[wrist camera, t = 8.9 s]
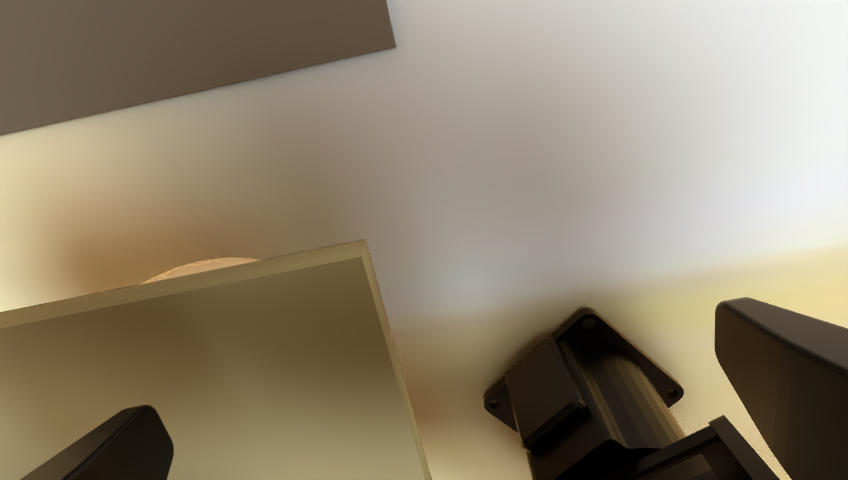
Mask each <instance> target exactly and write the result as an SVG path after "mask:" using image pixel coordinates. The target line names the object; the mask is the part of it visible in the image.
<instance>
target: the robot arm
mask: <svg viewBox="0 0 848 480" xmlns="http://www.w3.org/2000/svg"><path fill="white" fill-rule="evenodd" d="M587 319H592V320H591V322H590V323H588V324H583V322H584V321H585V320H587ZM715 353H716V356H717V359H718V362H719V364H720V365H721V367H722V369H723V370H724V372H725V374H726V376H727V377H728V379H729V381H730V382H731V384H732V386H733V387H734V389H735V391H736V393H737V394H738V396H739V398H740V399H741V401H742V403H743V405H744V406H745V408H746V410H747V411H748V413H749V415H750V416H751V418H752V420H753V422H754V423H755V425H756V427H757V428H758V430H759V432H760V433H761V435H762V437H763V438H764V440H765V442H766V443H767V445H768V446H769V448H770V450H771V451H772V453H773V454H774V456H775V457H776V458H777V460H778V461H779V463H780V464H781V466H782V467H783V468H784V470H785V471H786V472H787V474H788V475H789V477H790V478H791V479H792V480H848V329H847V328H844V327H841V326H838V325H835V324H831V323H828V322H825V321H822V320H819V319H815V318H812V317H809V316H806V315H803V314H800V313H796V312H793V311H790V310H787V309H784V308H780V307H777V306H774V305H771V304H768V303H764V302H761V301H758V300H755V299H752V298H746V297H744V298H738V299H733V300H727V301H722V302H720V303H719V304H718V305H717V307H716V311H715ZM672 389H673V390H672ZM670 390H672V391H671V392H668V391H670ZM667 392H668V393H667ZM683 394H684V390H683V388H682V387H681V386H680V384H679V383H678V381H677V380H675V379H674V378H673V377H672V376H671V375H670V374H668V373H667V372H666V371H665V370H664V369H662V368H661V367H660V366H659V365H658V364H657V363H655V362H654V361H653V360H652V359H651V358H650V357H648V356H647V355H646V354H645V353H644V352H643V351H641V350H640V349H639V348H638V347H637V346H636V345H634V344H633V343H632V342H631V341H630V340H629V339H627V338H626V337H625V336H624V335H623V334H621V333H620V332H619V331H618V330H617V329H616V328H614V327H613V326H612V325H611V324H610V323H609V322H607V321H606V320H605V319H604V318H603V317H602V316H600V315H599V314H598V313H597V312H596V311H594V310H592V309H582V310H581V311H579V312H578V313H576V314H575V315H574V316H573V317H572V318H571V319H570V320H568V321H567V322H566V323H565V324H564V325H563V326H562V327H560V328H559V329H558V330H557V331H556V332H555V333H554V334H552V335H551V336H550V337H549V338H546V339H544V340H543V341H542V342H541V343H540V344H539V345H538V346H536V347H535V348H534V349H533V350H532V351H531V352H530V353H529V354H527V355H526V356H525V357H524V358H523V359H522V360H521V361H519V362H518V363H517V364H516V365H515V366H514V367H513V368H511V369H510V370H509V371H508V372H507V373H506V376H505V377H503V378H502V379H501V380H500V381H499V382H498V383H497V384H495V385H494V386H493V387H492V388H491V389H490V390H489V391H487V392H486V394H485V395H484V397H483V401H484V406H485V409H486V410H487V411H488V412H489V413H491V414H492V415H494V416H495V417H496V418H498V419H499V420H501V421H502V422H503V423H505V424H506V425H508V426H509V427H510V428H512V429H513V430H515V431H516V432H517V433H518V434H519V438H520V442H521V446H522V447H523V448H524V449H525V452H526V456H527V460H528V464H529V468H530V472H531V476H532V480H780V479H779V478H778V477H777V476H776V475H775V473H774V472H773V471H772V470H771V469H770V468H769V467H768V465H767V464H766V463H765V462H764V461H763V460H762V458H761V457H760V456H759V455H758V454H757V453H756V452H755V450H754V449H753V448H752V447H751V446H750V445H749V443H748V442H747V441H746V440H745V439H744V438H743V437H742V435H741V434H740V433H739V432H738V431H737V430H736V428H735V427H734V426H733V425H732V424H731V423H730V422H729V420H728V419H727V418H726V417H725V416H724V415H723V416H720V417H718V418H716V419H714V420H712V421H710V422H708V423H709V425H710V426H707V427H705V428H703V429H701V430H699V431H697V432H695V433H693V434H691V435H689V436H687V437H686V435H685V434H684V432H683V431H682V429H681V428H680V426H679V424H678V423H677V421H676V420H675V418H674V417H673V415H672V414H671V412H670V410H669V409H668V408H669V407H671V406H672V405H673V404H675V403H676V402H677V401H679V400H680V399H681V398H682V397H683ZM493 400H498V402H496V403H492V402H491V401H493ZM173 456H174V446H173V442H172V439H171V437H170V435H169V433H168V432H167V430H166V428H165V426H164V424H163V422H162V420H161V418H160V416H159V414H158V412H157V411H156V409H155V408H154V407H152V406H150V405H141V406H136V407H130V408H126V409H123V410H121V411H120V412H118V413H117V414H115V415H114V416H112V417H111V418H109V419H108V420H106V421H105V422H103V423H102V424H101V425H99V426H98V427H96V428H95V429H93V430H92V431H90V432H89V433H87V434H86V435H84V436H83V437H81V438H80V439H78V440H77V441H76V442H74V443H73V444H71V445H70V446H68V447H67V448H65V449H64V450H62V451H61V452H59V453H58V454H56V455H55V456H53V457H52V458H51V459H49V460H48V461H46V462H45V463H43V464H42V465H40V466H39V467H37V468H36V469H34V470H33V471H31V472H30V473H28V474H27V475H26V476H24V477H23V478H21V479H20V480H167V478H168V474H169V471H170V467H171V464H172V460H173Z"/></svg>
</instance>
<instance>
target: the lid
mask: <svg viewBox="0 0 848 480" xmlns="http://www.w3.org/2000/svg"><path fill="white" fill-rule="evenodd" d="M141 405H150V406H152V407H154V408H155V409H156V411H157V412H158V414H159V416H160V418H161V420H162V422H163V424H164V426H165V428H166V430H167V432H168V433H169V435H170V437H171V439H172V442H173V446H174V456H173V460H172V464H171V467H170V471H169V474H168V478H167V480H432V479H431V475H430V471H429V468H428V464H427V461H426V457H425V453H424V450H423V446H422V442H421V439H420V435H419V432H418V428H417V424H416V421H415V417H414V413H413V410H412V406H411V403H410V399H409V395H408V392H407V388H406V384H405V381H404V377H403V374H402V370H401V366H400V363H399V359H398V355H397V352H396V348H395V345H394V341H393V337H392V334H391V330H390V326H389V323H388V319H387V316H386V312H385V308H384V305H383V301H382V297H381V294H380V290H379V286H378V283H377V279H376V276H375V272H374V268H373V265H372V261H371V257H370V254H369V250H368V247H367V243H366V239H365V240H360V241H355V242H350V243H345V244H340V245H335V246H330V247H325V248H320V249H315V250H310V251H305V252H300V253H295V254H290V255H285V256H280V257H275V258H270V259H265V260H260V261H255V262H250V263H245V264H240V265H235V266H230V267H225V268H220V269H215V270H210V271H205V272H200V273H195V274H190V275H185V276H180V277H175V278H170V279H165V280H160V281H155V282H150V283H145V284H140V285H135V286H130V287H125V288H120V289H115V290H110V291H105V292H100V293H95V294H90V295H85V296H80V297H75V298H70V299H65V300H60V301H55V302H50V303H45V304H40V305H35V306H30V307H25V308H20V309H15V310H10V311H5V312H0V480H20V479H21V478H23V477H24V476H26V475H27V474H28V473H30V472H31V471H33V470H34V469H36V468H37V467H39V466H40V465H42V464H43V463H45V462H46V461H48V460H49V459H51V458H52V457H53V456H55V455H56V454H58V453H59V452H61V451H62V450H64V449H65V448H67V447H68V446H70V445H71V444H73V443H74V442H76V441H77V440H78V439H80V438H81V437H83V436H84V435H86V434H87V433H89V432H90V431H92V430H93V429H95V428H96V427H98V426H99V425H101V424H102V423H103V422H105V421H106V420H108V419H109V418H111V417H112V416H114V415H115V414H117V413H118V412H120V411H121V410H123V409H126V408H130V407H136V406H141Z"/></svg>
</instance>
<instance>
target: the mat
mask: <svg viewBox="0 0 848 480" xmlns="http://www.w3.org/2000/svg"><path fill="white" fill-rule="evenodd" d="M394 47H396V45H395V41H394V36H393V32H392V27H391V22H390V18H389V13H388V8H387V4H386V0H0V136H1V135H5V134H10V133H14V132H19V131H23V130H28V129H32V128H37V127H41V126H46V125H50V124H55V123H59V122H63V121H68V120H72V119H77V118H81V117H86V116H90V115H95V114H99V113H104V112H108V111H113V110H117V109H122V108H126V107H130V106H135V105H139V104H144V103H148V102H153V101H157V100H162V99H166V98H171V97H175V96H180V95H184V94H188V93H193V92H197V91H202V90H206V89H211V88H215V87H220V86H224V85H229V84H233V83H238V82H242V81H246V80H251V79H255V78H260V77H264V76H269V75H273V74H278V73H282V72H287V71H291V70H296V69H300V68H304V67H309V66H313V65H318V64H322V63H327V62H331V61H336V60H340V59H345V58H349V57H354V56H358V55H362V54H367V53H371V52H376V51H380V50H385V49H389V48H394Z"/></svg>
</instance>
